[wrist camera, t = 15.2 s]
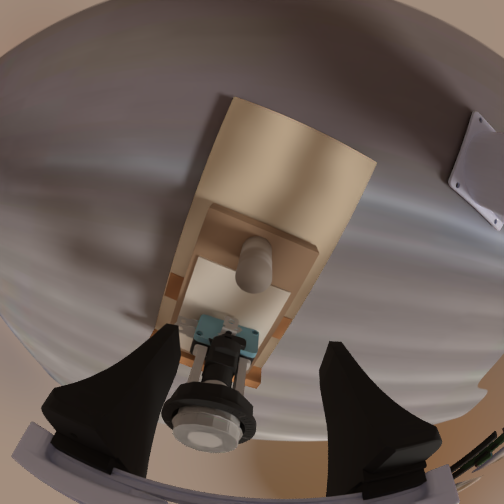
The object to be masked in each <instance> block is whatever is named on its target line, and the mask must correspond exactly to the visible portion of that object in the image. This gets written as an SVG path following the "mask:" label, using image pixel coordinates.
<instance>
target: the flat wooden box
mask: <svg viewBox="0 0 504 504" xmlns="http://www.w3.org/2000/svg"><path fill="white" fill-rule="evenodd" d="M376 164H377V162H375V161H373V160H372V159H370V158H368V157H367V156H365V155H363V154H361V153H360V152H358V151H356V150H354V149H352V148H350V147H349V146H347V145H345V144H343V143H341V142H339V141H337V140H335V139H333V138H331V137H330V136H328V135H326V134H323V133H321V132H319V131H317V130H315V129H313V128H311V127H309V126H307V125H305V124H302V123H300V122H298V121H296V120H293V119H291V118H289V117H287V116H284V115H282V114H279V113H277V112H275V111H272V110H270V109H267V108H265V107H262V106H259V105H257V104H254V103H251V102H249V101H246V100H243V99H240V98H237V97H235V96H234V98H233V100H232V102H231V105H230V107H229V109H228V112H227V114H226V116H225V119H224V121H223V123H222V126H221V128H220V130H219V133H218V135H217V138H216V140H215V143H214V145H213V148H212V150H211V153H210V155H209V158H208V160H207V163H206V166H205V168H204V171H203V174H202V176H201V179H200V182H199V184H198V187H197V190H196V193H195V196H194V198H193V201H192V204H191V207H190V210H189V213H188V216H187V219H186V222H185V225H184V228H183V231H182V234H181V237H180V240H179V243H178V247H177V250H176V253H175V256H174V260H173V263H172V266H171V270H170V273H169V277H168V280H167V284H166V287H165V291H164V295H163V298H162V302H161V306H160V310H159V314H158V318H157V321H156V326H155V329H154V331H153V333H152V334H151V336H150V337H152V336H153V335H154V334H155V333H156V332H157V331H158V330H159V329H160V328H162V327H163V326H164V325H165V324H166V323H168V324H170V322H171V319H172V315H173V312H174V309H175V306H176V302H177V299H178V296H179V293H180V290H181V286H182V283H183V280H184V277H185V274H186V271H187V268H188V265H189V262H190V259H191V256H192V253H193V250H194V247H195V245H196V242H197V239H198V236H199V233H200V230H201V228H202V225H203V222H204V219H205V217H206V214H207V211H208V208H209V207H210V206H211V204H212V203H216V204H218V205H221V206H223V207H226V208H228V209H231V210H233V211H236V212H238V213H241V214H243V215H246V216H248V217H250V218H253V219H255V220H258V221H260V222H262V223H265V224H267V225H270V226H272V227H274V228H277V229H279V230H281V231H284V232H286V233H288V234H291V235H293V236H295V237H298V238H300V239H302V240H305V241H307V242H309V243H311V244H314V245H316V247H317V249H318V251H319V255H318V257H317V259H316V261H315V263H314V264H313V266H312V268H311V270H310V272H309V274H308V275H307V277H306V279H305V281H304V282H303V284H302V286H301V288H300V289H299V291H298V293H297V295H296V296H295V298H294V300H293V302H292V303H291V305H290V307H289V308H288V310H287V312H286V314H285V315H284V317H283V319H282V320H281V322H280V324H279V325H278V327H277V329H276V330H275V332H274V333H273V335H272V337H271V338H270V340H269V342H268V343H267V345H266V346H265V348H264V350H263V351H262V353H261V354H260V356H259V357H258V359H257V361H256V362H255V364H254V365H253V367H252V368H251V370H250V371H249V373H248V374H246V377H245V386H249V387H252V388H256V389H257V387H258V386H259V385H260V383H261V368H262V367H263V365H264V364H265V362H266V361H267V359H268V358H269V356H270V355H271V353H272V352H273V350H274V349H275V347H276V345H277V344H278V342H279V341H280V339H281V338H282V336H283V335H284V333H285V331H286V330H287V328H288V327H289V325H290V323H291V322H292V320H293V319H294V317H295V315H296V314H297V312H298V311H299V309H300V307H301V306H302V304H303V302H304V301H305V299H306V297H307V296H308V294H309V292H310V291H311V289H312V287H313V285H314V284H315V282H316V280H317V278H318V277H319V275H320V273H321V271H322V270H323V268H324V266H325V264H326V263H327V261H328V259H329V257H330V255H331V254H332V252H333V250H334V248H335V246H336V244H337V243H338V241H339V239H340V237H341V235H342V233H343V231H344V229H345V227H346V226H347V224H348V222H349V220H350V218H351V216H352V214H353V212H354V210H355V208H356V206H357V204H358V202H359V200H360V198H361V196H362V194H363V192H364V190H365V188H366V186H367V183H368V181H369V179H370V177H371V175H372V173H373V171H374V169H375V166H376ZM194 360H195V356H194V355H191V354H189V353H186V352H184V351H181V358H180V362H179V363H181V364H184V365H186V366H189V367H192V366H193V363H194ZM204 364H205V360H204V362H203V366H202V370H201V371H203V369H204ZM232 382H234V377H233V379H232Z"/></svg>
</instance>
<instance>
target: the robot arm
mask: <svg viewBox="0 0 504 504" xmlns="http://www.w3.org/2000/svg"><path fill="white" fill-rule="evenodd" d="M479 119H480V121H479ZM456 183H457V184H458V185H457V187H456ZM448 184H449V186H450V187H451V188H452V189H453V190H455V191H456V192H457V193H458V194H459V195H460V196H462V197H463V198H464V199H465V200H466V201H467V202H468V203H469V204H471V205H472V206H473V207H474V208H475V209H476V210H477V211H478V212H479V213H480V214H481V215H482V216H483V217H484V218H485V219H486V220H487V221H488V222H489V223H490V224H491V225H492V226H493V227H494V228H495V229H496V230H498V231H499V230H500V229H501V228H502V226H503V223H504V133H502V132H496V131H495V130H494V129H493V128H492V127H491V126H490V124H489V123H488V122H487V121H486V120H485V119H484V118H483V117H482V116H481V115H480V114H479V113H478V112H477V111H474V112H472V115H471V118H470V122H469V125H468V128H467V131H466V134H465V137H464V140H463V143H462V146H461V149H460V152H459V154H458V157H457V160H456V162H455V165H454V167H453V170H452V172H451V175H450V177H449V180H448ZM494 220H495V221H494ZM180 358H181V348H180V337H179V326H178V325H173V324H168V323H166V324H165V325H164V326H163V327H162V328H160V329H159V330H158V331H157V332H156V333H155V334H154V335H153V336H152V337H150V338H149V339H148V340H147V341H146V342H145V343H143V344H142V345H141V346H140V347H139V348H137V349H136V350H135V351H133V352H132V353H131V354H129V355H128V356H127V357H125V358H124V359H122V360H121V361H119V362H118V363H116V364H115V365H113V366H111V367H110V368H108V369H106V370H104V371H102V372H100V373H98V374H96V375H94V376H91V377H89V378H86V379H84V380H81V381H78V382H75V383H72V384H68V385H64V386H61V387H57V388H54V389H53V390H52V392H51V393H50V395H49V396H48V398H47V399H46V401H45V402H44V404H43V405H42V407H41V409H42V412H43V414H44V416H45V417H46V419H47V420H48V421H49V423H50V424H51V425H52V426H53V427H54V429H55V430H56V433H55V435H53V434H51V433H50V432H49V431H47V430H46V429H44V428H42V427H41V426H39V425H37V424H36V423H34V422H31V423H30V425H29V426H28V428H27V430H26V431H25V433H24V435H23V436H22V438H21V440H20V441H19V443H18V445H17V447H16V449H15V450H14V452H13V454H12V458H13V459H14V460H15V461H16V462H18V463H19V464H20V465H21V466H22V467H24V468H25V469H26V470H27V471H29V472H30V473H31V474H33V475H34V476H35V477H37V478H38V479H39V480H41V481H42V482H44V483H45V484H47V485H49V486H50V487H52V488H53V489H55V490H57V491H58V492H60V493H62V494H63V495H65V496H67V497H69V498H70V499H72V500H74V501H76V502H78V503H80V504H168V502H167V501H170V502H175V503H178V504H459V502H460V500H459V497H458V493H457V489H456V486H455V483H454V479H453V476H452V473H451V470H450V467H449V465H448V464H447V465H444V466H441V467H439V468H436V469H433V470H431V471H428V472H427V473H425V472H424V468H426V466H427V465H426V461H425V460H427V459H428V458H429V457H430V456H431V455H432V454H433V453H435V452H436V451H437V450H438V449H439V447H440V446H441V444H442V440H441V437H440V434H439V432H438V430H437V427H436V426H434V425H432V424H430V423H428V422H425V421H423V420H421V419H420V418H418V417H416V416H415V415H413V414H411V413H410V412H408V411H407V410H405V409H404V408H402V407H401V406H400V405H398V404H397V403H396V402H394V401H393V400H392V399H391V398H390V397H388V396H387V395H386V394H385V393H384V392H383V391H382V390H381V389H380V388H379V387H378V386H377V385H376V384H375V383H374V382H373V381H372V380H371V379H370V378H369V377H368V375H367V374H366V373H365V372H364V371H363V369H362V368H361V367H360V366H359V365H358V363H357V362H356V361H355V359H354V358H353V357H352V355H351V354H350V353H349V351H348V350H347V349H346V347H345V346H344V345H343V343H342V342H333V341H329V344H328V347H327V350H326V353H325V355H324V358H323V361H322V364H321V367H320V369H319V377H320V390H321V396H322V401H323V406H324V412H325V417H326V423H327V431H328V480H327V492H326V497H322V498H307V499H260V498H245V497H234V496H225V495H218V494H211V493H205V492H199V491H193V490H189V489H184V488H179V487H175V486H171V485H167V484H163V483H159V482H155V481H152V480H149V479H146V475H147V468H148V462H149V456H150V452H151V447H152V442H153V438H154V434H155V430H156V426H157V422H158V419H159V415H160V412H161V409H162V406H163V404H164V402H165V399H166V397H167V395H168V392H169V390H170V387H171V385H172V383H173V380H174V378H175V375H176V373H177V369H178V366H179V362H180ZM165 500H166V501H165Z"/></svg>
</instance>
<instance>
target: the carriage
mask: <svg viewBox="0 0 504 504" xmlns="http://www.w3.org/2000/svg"><path fill="white" fill-rule="evenodd" d="M318 255H319V251H318V249H317V247H316V245H314V244H311V243H309V242H307V241H305V240H302V239H300V238H298V237H295V236H293V235H291V234H288V233H286V232H284V231H281V230H279V229H277V228H274V227H272V226H270V225H267V224H265V223H262V222H260V221H258V220H255V219H253V218H250V217H248V216H246V215H243V214H241V213H238V212H236V211H233V210H231V209H228V208H226V207H223V206H221V205H218V204H216V203H212V204H211V206H210V207H209V208H208V211H207V214H206V217H205V219H204V222H203V225H202V228H201V230H200V233H199V236H198V239H197V242H196V245H195V247H194V250H193V253H192V256H191V259H190V262H189V265H188V268H187V271H186V274H185V277H184V280H183V283H182V286H181V290H180V293H179V296H178V299H177V302H176V306H175V309H174V312H173V315H172V319H171V322H170V324H173V325H174V324H175V323H177V319H178V316H179V315H180V316H182V317H185V318H188V319H191V320H192V319H195V320H198V321H199V320H200V317H201V315H203V314H205V315H209V316H212V317H215V318H218V319H221V320H224V319H225V316H229V317H232V318H236V319H238V321H239V323H238V325H240V326H243V327H246V328H250V329H254V330H257V331H258V332H259V341H258V352H257V354H256V356H255V358H254V360H253V362H252V364H251V366H250V368H249V370H247V371H246V374H248V373H249V371H250V370H251V368H252V367H253V365H254V364H255V362H256V361H257V359H258V357H259V356H260V354H261V353H262V351H263V350H264V348H265V346H266V345H267V343H268V342H269V340H270V338H271V337H272V335H273V333H274V332H275V330H276V329H277V327H278V325H279V324H280V322H281V320H282V319H283V317H284V315H285V314H286V312H287V310H288V308H289V307H290V305H291V303H292V302H293V300H294V298H295V296H296V295H297V293H298V291H299V289H300V288H301V286H302V284H303V282H304V281H305V279H306V277H307V275H308V274H309V272H310V270H311V268H312V266H313V264H314V263H315V261H316V259H317V257H318ZM181 322H182V323H186V321H185V320H183V319H182V320H181ZM228 322H230V323H233V324H234V322H233V321H232V320H229V321H228ZM179 330H183V328H182V327H180V326H179ZM179 337H180V348H181V351H184V352H186V353H189V354H191V353H190V348H191V344H192V341H193V338H190V337H187V335H186V334H183V333H180V332H179ZM191 355H192V354H191Z"/></svg>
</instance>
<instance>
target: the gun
mask: <svg viewBox="0 0 504 504" xmlns="http://www.w3.org/2000/svg"><path fill="white" fill-rule="evenodd" d="M502 430H503V434H501V435H500V436H499V437H498V438H497V434H496V431H494V432H493V433H492V434H491V435H490V436H489V437H488V438H486V439H485V440H484V441H483V442H482V443H481V444H480V445H478V446H477V447H476V448H475V449H474V450H472V451H471V452H470V453H469V454H467V455H466V456H465V457H463V458H462V459H461V460H459V461H458V462H457V463H455V464H454V465H452V466H451V467H450V470H451V473H453V472H454V471H456V470H457V469H458V468H460V469H458V470H457V471H456V472H454V473H453V474H452V476H453V479H455V478H457V477H458V476H460V475H461V474H463V473H464V472H466V471H467V470H469V469H470V468H471V467H473V466H474V465H475V467H479V466H480V465H481V464H483V463H484V462H485V461H487V460H488V459H490V458H491V457H492V456H493V455H492V452H493V450H495V449H496V448H497V447H498V446H499V445H501V444H502V443H503V442H504V428H503V429H502ZM496 438H497V439H496ZM495 439H496V440H495ZM494 440H495V441H494ZM493 441H494V442H493ZM488 445H489V446H488ZM487 446H488V447H487ZM478 453H479V454H478ZM477 454H478V455H477ZM476 455H477V456H476ZM473 457H474V458H473ZM469 460H470V461H469ZM465 463H466V464H465Z"/></svg>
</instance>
